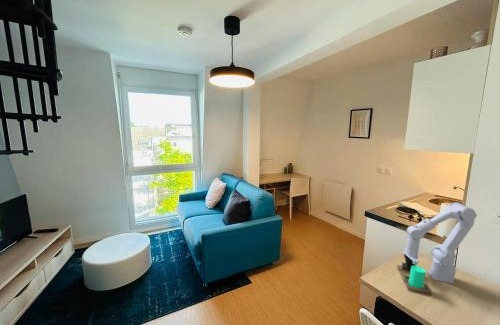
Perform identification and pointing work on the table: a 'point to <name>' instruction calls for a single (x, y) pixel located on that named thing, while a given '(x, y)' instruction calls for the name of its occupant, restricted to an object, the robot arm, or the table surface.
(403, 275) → the brown compartment tray
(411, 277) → the candle
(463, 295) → the table surface
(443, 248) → the robot arm
